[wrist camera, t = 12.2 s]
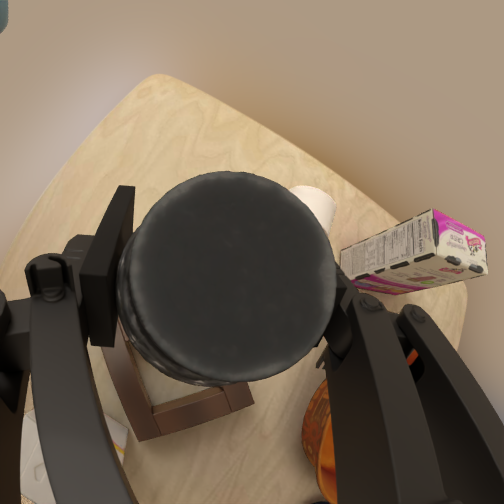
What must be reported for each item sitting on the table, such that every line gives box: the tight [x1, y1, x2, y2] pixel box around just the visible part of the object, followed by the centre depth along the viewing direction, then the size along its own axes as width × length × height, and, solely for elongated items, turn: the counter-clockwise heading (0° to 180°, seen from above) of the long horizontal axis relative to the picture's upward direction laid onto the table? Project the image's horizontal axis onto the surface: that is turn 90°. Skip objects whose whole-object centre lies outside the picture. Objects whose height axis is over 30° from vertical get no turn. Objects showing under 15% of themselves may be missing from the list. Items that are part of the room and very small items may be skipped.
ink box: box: [20, 409, 129, 504], centre depth 18 cm, size 9×8×12 cm
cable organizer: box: [288, 186, 336, 237], centre depth 31 cm, size 5×10×10 cm, turn 158°
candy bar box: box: [340, 208, 488, 295], centre depth 32 cm, size 11×5×16 cm, turn 82°
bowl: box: [302, 349, 418, 504], centre depth 29 cm, size 21×21×10 cm
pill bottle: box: [115, 171, 337, 387], centre depth 11 cm, size 6×6×11 cm
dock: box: [101, 316, 255, 442], centre depth 27 cm, size 12×12×3 cm
